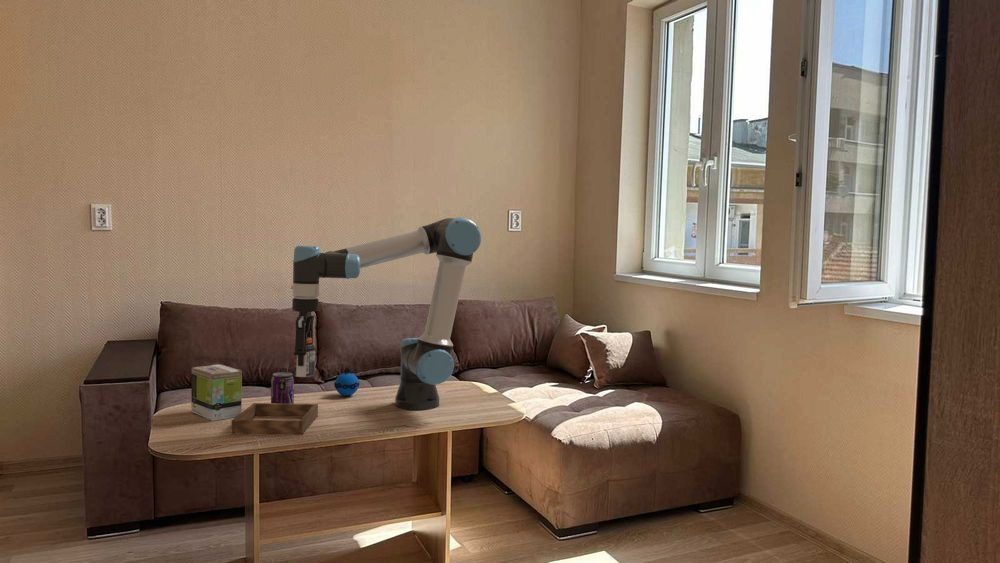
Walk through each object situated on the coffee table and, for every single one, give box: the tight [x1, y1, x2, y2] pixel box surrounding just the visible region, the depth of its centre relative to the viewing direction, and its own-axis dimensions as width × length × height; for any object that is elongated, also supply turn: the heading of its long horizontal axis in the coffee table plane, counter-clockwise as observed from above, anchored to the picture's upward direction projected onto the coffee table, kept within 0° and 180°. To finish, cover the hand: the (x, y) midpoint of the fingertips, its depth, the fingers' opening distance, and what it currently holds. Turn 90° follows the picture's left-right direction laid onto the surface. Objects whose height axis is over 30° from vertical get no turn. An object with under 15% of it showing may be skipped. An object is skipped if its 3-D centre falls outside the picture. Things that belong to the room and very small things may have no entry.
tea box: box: [190, 363, 243, 422], centre depth 219 cm, size 15×10×15 cm, turn 47°
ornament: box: [333, 367, 360, 397], centre depth 248 cm, size 9×9×10 cm
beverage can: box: [270, 371, 295, 404], centre depth 226 cm, size 7×7×12 cm
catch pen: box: [231, 402, 319, 436], centre depth 210 cm, size 20×20×4 cm
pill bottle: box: [293, 337, 316, 378], centre depth 208 cm, size 6×6×11 cm
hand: (303, 374), depth 209 cm, fingers closed on pill bottle, 6 cm apart
